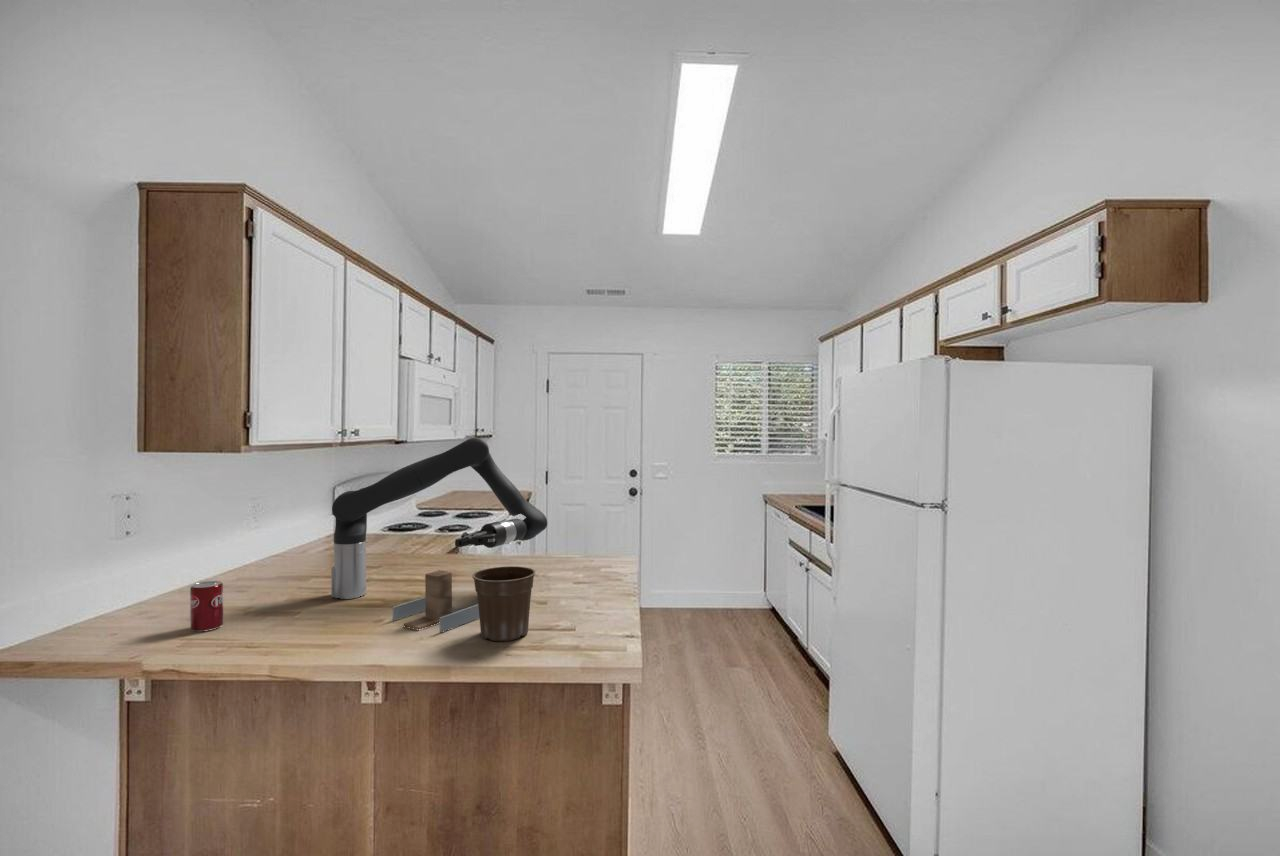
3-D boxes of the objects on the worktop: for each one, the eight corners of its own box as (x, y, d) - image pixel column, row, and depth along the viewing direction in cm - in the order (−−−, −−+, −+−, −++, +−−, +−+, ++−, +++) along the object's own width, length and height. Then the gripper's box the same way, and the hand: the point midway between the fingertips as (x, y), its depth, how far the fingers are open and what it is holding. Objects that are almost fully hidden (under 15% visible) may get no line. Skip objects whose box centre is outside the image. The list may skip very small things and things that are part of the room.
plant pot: (468, 628, 166) (468, 568, 166) (527, 620, 172) (527, 563, 172) (477, 648, 151) (477, 583, 151) (542, 639, 157) (542, 576, 157)
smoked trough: (437, 606, 185) (437, 593, 185) (484, 616, 176) (484, 602, 176) (392, 621, 172) (392, 606, 171) (441, 633, 162) (441, 618, 162)
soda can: (188, 634, 161) (187, 588, 161) (193, 626, 167) (192, 582, 167) (221, 630, 164) (221, 585, 164) (225, 622, 171) (224, 579, 170)
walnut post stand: (438, 615, 177) (438, 570, 177) (453, 618, 174) (453, 572, 174) (403, 627, 167) (403, 579, 167) (418, 631, 164) (418, 582, 164)
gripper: (482, 520, 197) (440, 528, 182) (514, 523, 191) (473, 532, 176) (483, 543, 197) (441, 553, 182) (514, 547, 191) (473, 558, 176)
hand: (457, 543), depth 179 cm, fingers closed
